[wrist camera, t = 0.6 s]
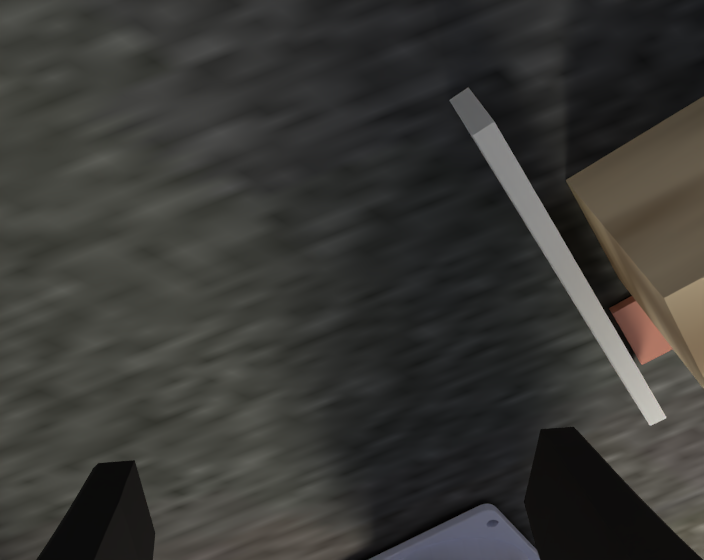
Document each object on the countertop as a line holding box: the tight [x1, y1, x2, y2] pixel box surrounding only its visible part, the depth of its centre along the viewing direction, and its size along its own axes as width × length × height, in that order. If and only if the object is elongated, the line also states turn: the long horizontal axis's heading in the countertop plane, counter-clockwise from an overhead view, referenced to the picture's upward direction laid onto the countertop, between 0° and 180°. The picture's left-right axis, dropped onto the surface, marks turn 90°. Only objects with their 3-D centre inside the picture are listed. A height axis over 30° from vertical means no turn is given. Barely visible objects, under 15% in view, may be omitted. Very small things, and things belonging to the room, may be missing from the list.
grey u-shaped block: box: [449, 87, 673, 426], centre depth 19 cm, size 13×8×2 cm, turn 34°
